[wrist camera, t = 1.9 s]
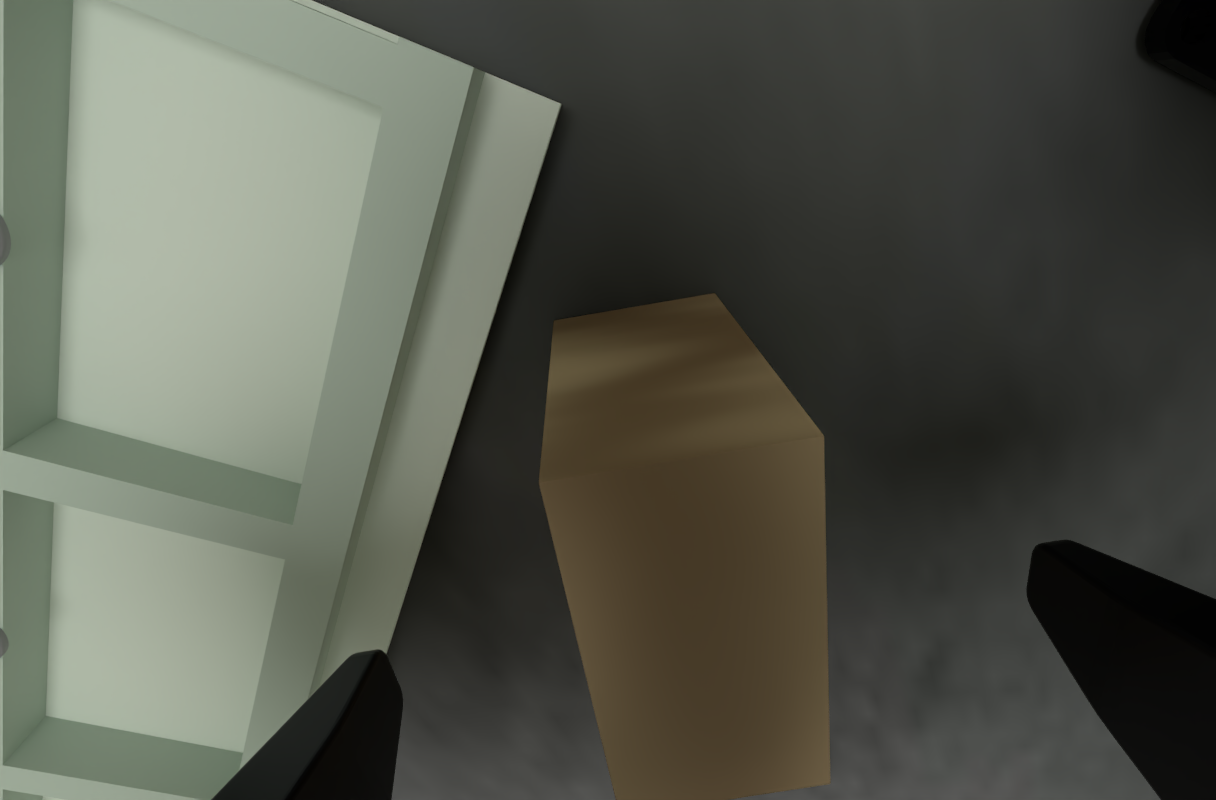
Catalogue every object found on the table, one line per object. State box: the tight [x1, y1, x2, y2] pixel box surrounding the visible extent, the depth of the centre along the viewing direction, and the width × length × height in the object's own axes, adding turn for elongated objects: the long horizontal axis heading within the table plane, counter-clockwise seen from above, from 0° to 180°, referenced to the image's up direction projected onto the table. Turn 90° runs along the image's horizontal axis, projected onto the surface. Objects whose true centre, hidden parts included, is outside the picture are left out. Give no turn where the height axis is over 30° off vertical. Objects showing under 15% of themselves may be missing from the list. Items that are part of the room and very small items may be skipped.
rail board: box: [0, 0, 562, 800], centre depth 13 cm, size 9×25×3 cm, turn 159°
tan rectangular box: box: [539, 293, 830, 800], centre depth 11 cm, size 3×6×6 cm, turn 9°
